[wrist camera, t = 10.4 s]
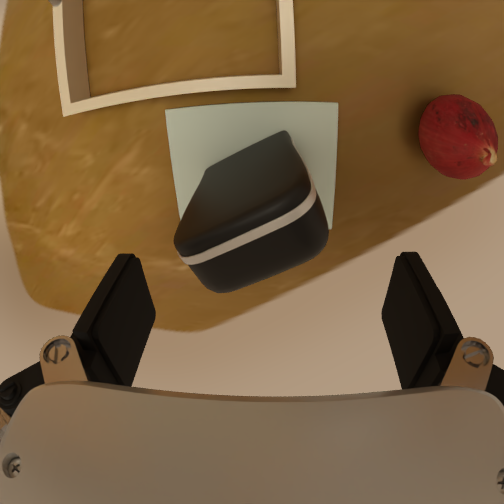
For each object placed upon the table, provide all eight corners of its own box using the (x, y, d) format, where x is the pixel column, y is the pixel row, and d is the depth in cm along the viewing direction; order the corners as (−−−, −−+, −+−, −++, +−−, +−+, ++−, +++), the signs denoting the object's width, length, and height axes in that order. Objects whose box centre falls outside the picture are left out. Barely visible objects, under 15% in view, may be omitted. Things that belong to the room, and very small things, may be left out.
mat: (336, 102, 20) (338, 103, 20) (330, 226, 26) (331, 228, 25) (166, 109, 21) (165, 110, 20) (183, 230, 26) (182, 233, 26)
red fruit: (395, 93, 20) (452, 112, 13) (457, 85, 18) (523, 104, 12) (407, 165, 23) (457, 210, 16) (464, 153, 21) (523, 192, 15)
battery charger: (227, 210, 25) (207, 316, 15) (201, 169, 23) (159, 257, 13) (310, 171, 23) (347, 261, 13) (288, 125, 21) (314, 184, 11)
